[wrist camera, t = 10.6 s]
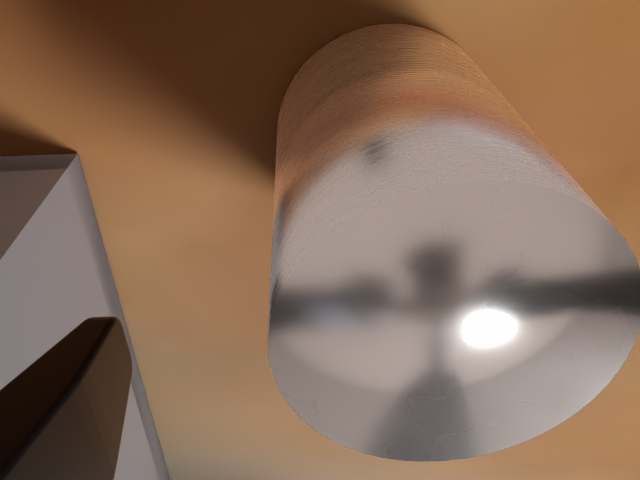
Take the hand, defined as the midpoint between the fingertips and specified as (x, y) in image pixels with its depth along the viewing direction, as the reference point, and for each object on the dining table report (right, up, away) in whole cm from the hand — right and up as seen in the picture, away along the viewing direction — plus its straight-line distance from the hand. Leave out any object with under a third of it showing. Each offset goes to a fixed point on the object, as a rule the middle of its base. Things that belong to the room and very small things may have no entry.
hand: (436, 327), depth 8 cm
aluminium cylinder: (0, +4, +5) cm, 7 cm away
